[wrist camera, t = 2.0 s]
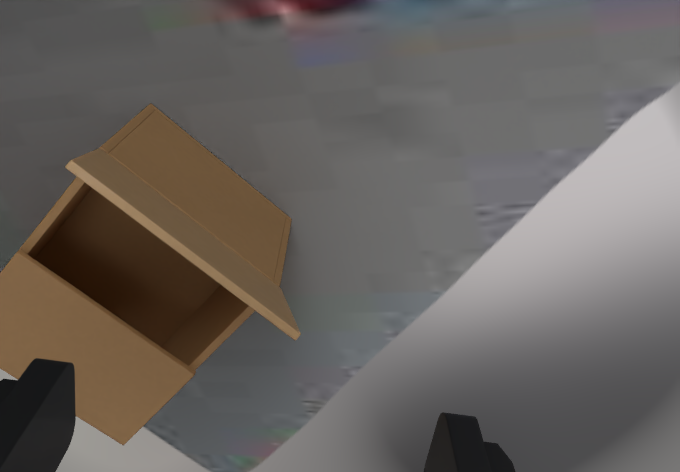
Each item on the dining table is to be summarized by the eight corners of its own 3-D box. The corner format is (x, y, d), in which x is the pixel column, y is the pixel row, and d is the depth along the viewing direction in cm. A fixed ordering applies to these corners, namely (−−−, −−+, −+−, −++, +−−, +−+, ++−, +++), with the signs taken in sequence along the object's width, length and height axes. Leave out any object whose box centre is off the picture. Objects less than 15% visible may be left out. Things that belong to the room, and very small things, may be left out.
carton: (150, 102, 41) (94, 151, 32) (292, 219, 44) (279, 293, 35) (28, 255, 46) (-52, 337, 36) (164, 350, 49) (123, 447, 40)
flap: (94, 153, 32) (99, 147, 32) (276, 294, 35) (281, 288, 35) (64, 167, 25) (71, 159, 25) (295, 341, 28) (301, 334, 28)
